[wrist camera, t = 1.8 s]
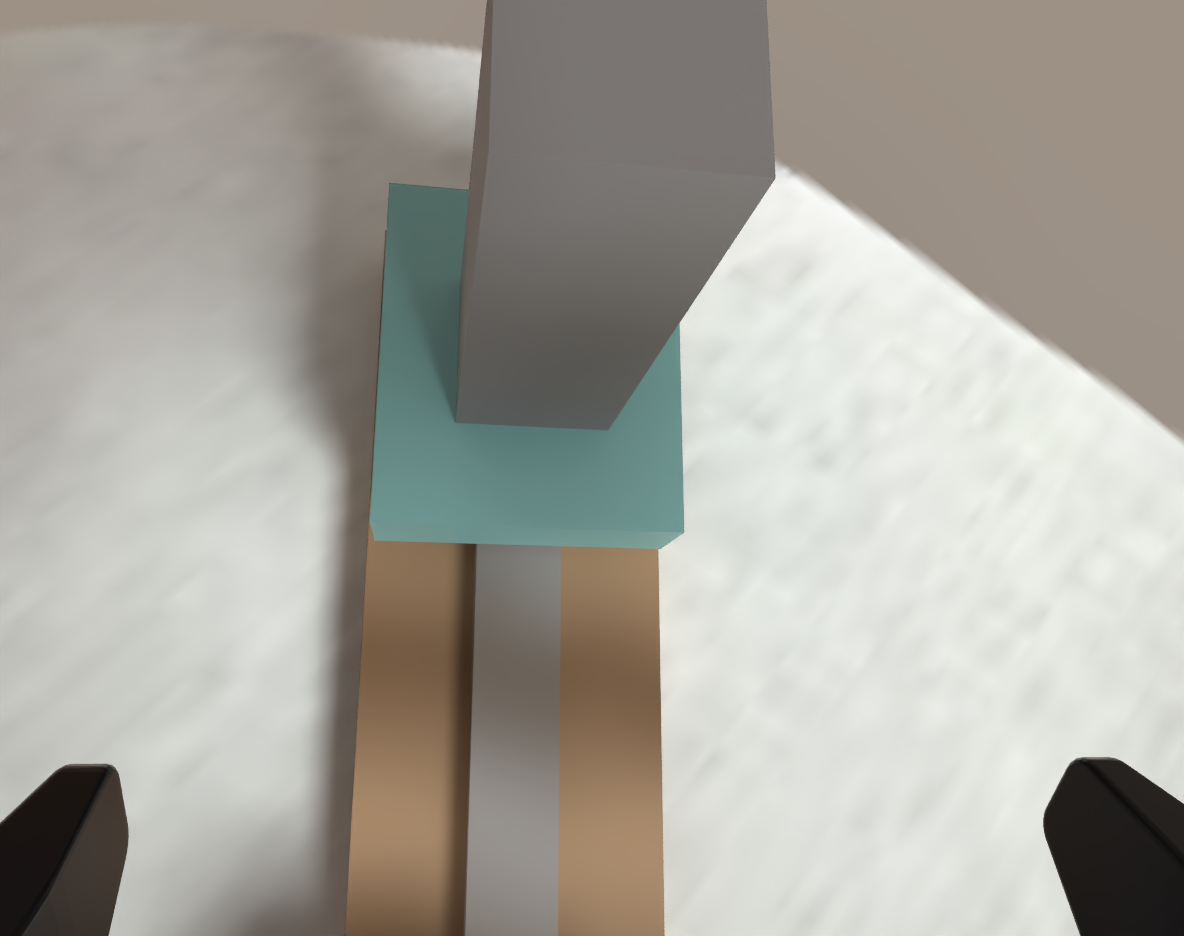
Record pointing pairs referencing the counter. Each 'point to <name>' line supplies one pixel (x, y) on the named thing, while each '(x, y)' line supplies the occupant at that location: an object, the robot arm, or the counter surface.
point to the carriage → (567, 274)
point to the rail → (507, 742)
